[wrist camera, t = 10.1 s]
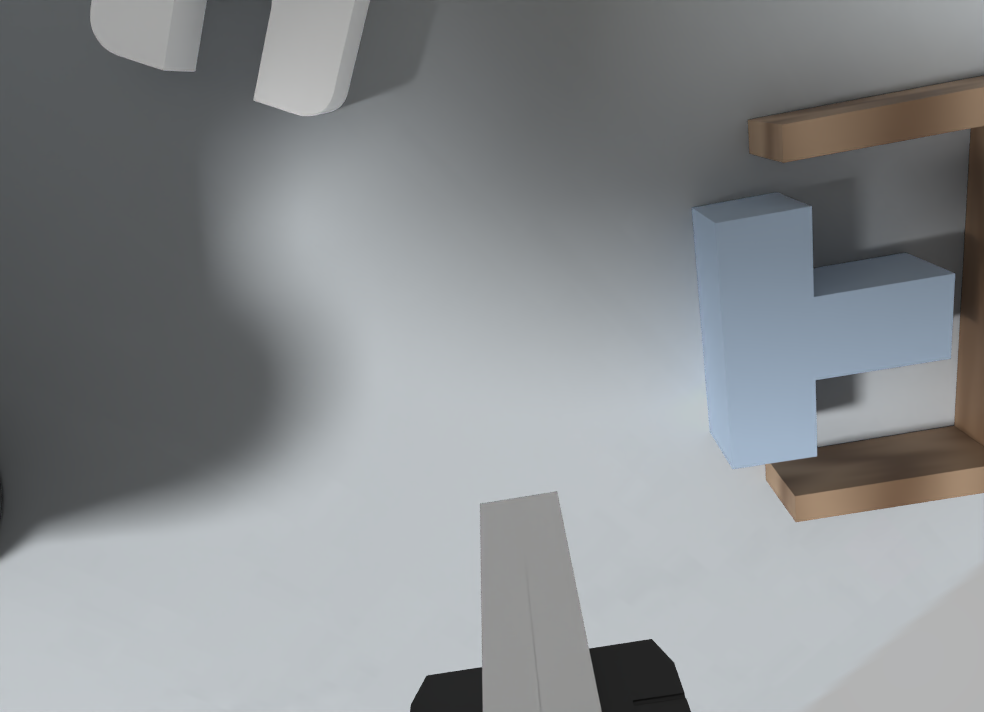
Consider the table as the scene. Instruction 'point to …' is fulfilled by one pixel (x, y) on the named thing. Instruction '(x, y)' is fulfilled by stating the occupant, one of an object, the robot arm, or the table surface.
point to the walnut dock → (980, 374)
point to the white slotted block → (286, 54)
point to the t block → (799, 323)
